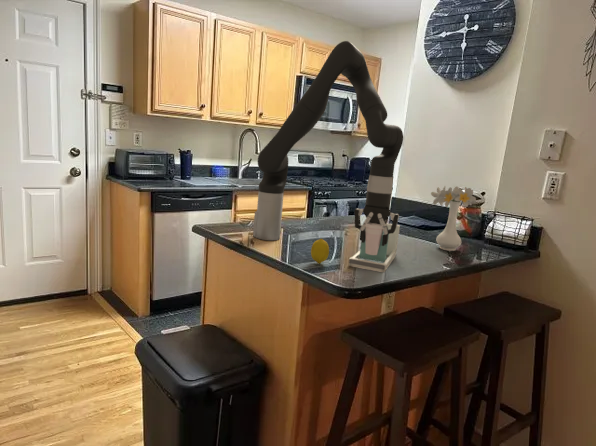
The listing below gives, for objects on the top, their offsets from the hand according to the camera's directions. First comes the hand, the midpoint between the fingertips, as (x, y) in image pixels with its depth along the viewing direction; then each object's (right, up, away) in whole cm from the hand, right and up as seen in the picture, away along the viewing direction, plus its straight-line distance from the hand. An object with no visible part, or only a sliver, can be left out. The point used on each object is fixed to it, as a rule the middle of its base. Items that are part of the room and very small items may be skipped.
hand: (373, 243), depth 134 cm
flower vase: (+35, -4, +34) cm, 49 cm away
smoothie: (0, -3, +1) cm, 3 cm away
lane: (+2, -6, +7) cm, 9 cm away
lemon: (-17, -6, -3) cm, 19 cm away
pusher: (0, -5, +4) cm, 7 cm away
